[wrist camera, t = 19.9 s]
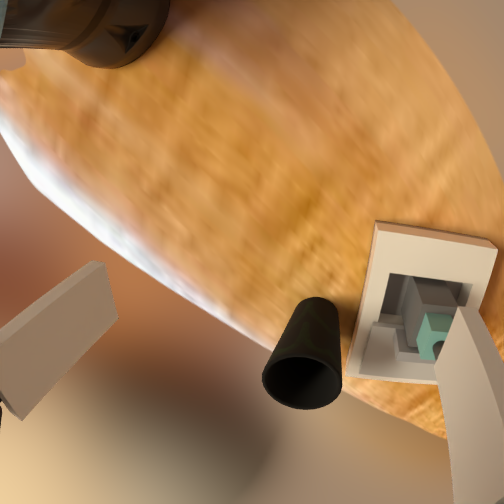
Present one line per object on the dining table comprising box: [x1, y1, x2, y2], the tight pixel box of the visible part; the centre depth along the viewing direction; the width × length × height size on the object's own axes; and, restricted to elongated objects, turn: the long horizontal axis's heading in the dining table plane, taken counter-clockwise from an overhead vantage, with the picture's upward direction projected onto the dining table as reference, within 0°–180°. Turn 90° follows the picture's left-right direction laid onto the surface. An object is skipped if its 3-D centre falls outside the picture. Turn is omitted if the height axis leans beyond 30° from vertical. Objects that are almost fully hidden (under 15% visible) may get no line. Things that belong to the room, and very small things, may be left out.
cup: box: [262, 297, 342, 410], centre depth 33 cm, size 8×8×12 cm
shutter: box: [359, 322, 437, 381], centre depth 30 cm, size 7×11×5 cm, turn 88°
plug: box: [401, 276, 458, 361], centre depth 27 cm, size 5×4×12 cm
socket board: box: [345, 220, 498, 385], centre depth 32 cm, size 19×14×4 cm
